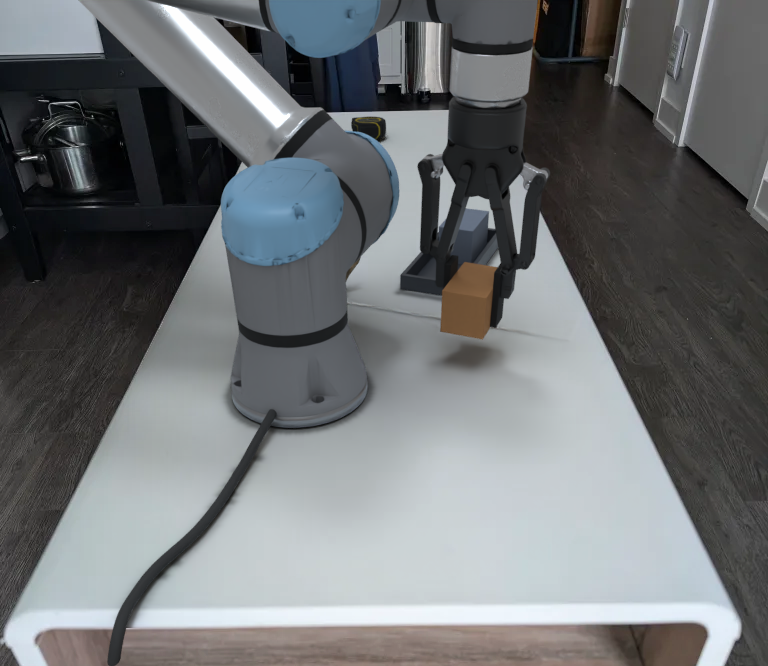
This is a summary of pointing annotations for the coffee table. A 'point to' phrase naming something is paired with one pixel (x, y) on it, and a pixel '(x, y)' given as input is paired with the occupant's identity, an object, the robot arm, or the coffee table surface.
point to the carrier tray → (424, 268)
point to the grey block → (470, 235)
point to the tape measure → (369, 126)
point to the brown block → (468, 301)
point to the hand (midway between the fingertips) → (472, 317)
